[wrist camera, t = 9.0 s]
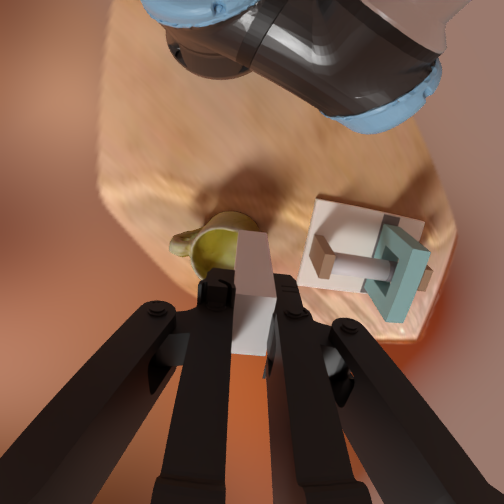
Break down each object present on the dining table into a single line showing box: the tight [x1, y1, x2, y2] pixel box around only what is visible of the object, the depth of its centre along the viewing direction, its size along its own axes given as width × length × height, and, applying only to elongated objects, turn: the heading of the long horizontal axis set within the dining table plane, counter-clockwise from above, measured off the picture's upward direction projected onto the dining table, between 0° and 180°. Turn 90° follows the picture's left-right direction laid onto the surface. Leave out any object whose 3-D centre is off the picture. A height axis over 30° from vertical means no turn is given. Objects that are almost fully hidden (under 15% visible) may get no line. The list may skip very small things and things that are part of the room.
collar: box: [364, 224, 431, 323], centre depth 44 cm, size 3×11×10 cm, turn 171°
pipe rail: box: [296, 198, 433, 294], centre depth 46 cm, size 19×14×8 cm
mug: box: [169, 211, 260, 280], centre depth 45 cm, size 12×10×10 cm
